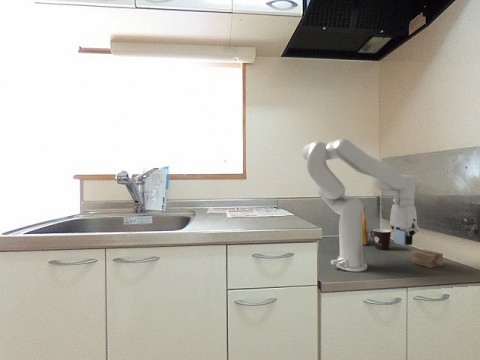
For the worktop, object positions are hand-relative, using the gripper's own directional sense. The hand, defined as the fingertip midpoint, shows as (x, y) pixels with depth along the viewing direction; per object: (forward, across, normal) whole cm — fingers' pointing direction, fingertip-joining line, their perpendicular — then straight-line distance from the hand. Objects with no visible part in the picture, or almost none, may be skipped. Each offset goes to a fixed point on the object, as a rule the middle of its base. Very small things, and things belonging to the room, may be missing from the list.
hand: (402, 242), depth 117 cm
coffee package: (+10, -36, +8) cm, 39 cm away
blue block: (+1, 0, 0) cm, 1 cm away
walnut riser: (+9, +4, +11) cm, 15 cm away
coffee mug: (+10, -24, +13) cm, 28 cm away
